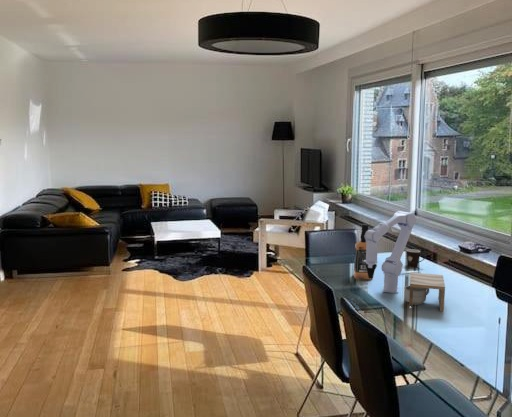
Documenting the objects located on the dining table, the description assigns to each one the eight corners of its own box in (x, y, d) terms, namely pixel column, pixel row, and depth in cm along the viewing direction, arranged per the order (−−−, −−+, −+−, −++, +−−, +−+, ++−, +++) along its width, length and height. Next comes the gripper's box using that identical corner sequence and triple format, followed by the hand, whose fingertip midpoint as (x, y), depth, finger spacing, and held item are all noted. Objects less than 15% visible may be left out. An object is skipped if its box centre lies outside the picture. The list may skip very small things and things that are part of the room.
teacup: (410, 307, 256) (411, 291, 255) (399, 300, 266) (400, 285, 265) (435, 305, 259) (436, 289, 258) (424, 298, 269) (424, 283, 268)
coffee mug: (403, 264, 339) (403, 249, 337) (414, 263, 341) (415, 249, 340) (413, 269, 328) (414, 253, 326) (425, 268, 330) (426, 252, 329)
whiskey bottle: (370, 275, 312) (372, 223, 308) (372, 280, 303) (375, 226, 298) (353, 274, 313) (355, 222, 309) (354, 279, 304) (356, 225, 299)
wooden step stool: (409, 295, 275) (410, 272, 273) (441, 298, 270) (442, 275, 268) (408, 308, 254) (410, 283, 252) (443, 312, 249) (445, 286, 247)
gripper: (365, 249, 278) (364, 273, 280) (362, 255, 265) (361, 281, 267) (378, 250, 276) (377, 275, 278) (376, 256, 263) (375, 282, 265)
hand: (370, 278), depth 272 cm, fingers closed
